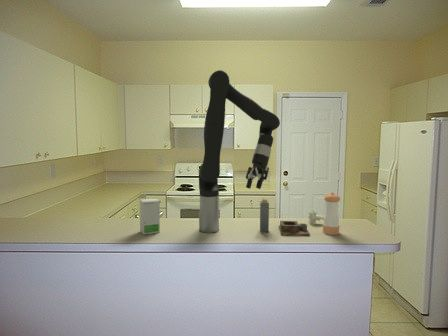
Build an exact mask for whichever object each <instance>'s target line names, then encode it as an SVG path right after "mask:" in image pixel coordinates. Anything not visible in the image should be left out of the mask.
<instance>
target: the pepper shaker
mask: <svg viewBox="0 0 448 336" xmlns="http://www.w3.org/2000/svg"><path fill="white" fill-rule="evenodd" d="M324 201H325V212H324V215H323V216H324V220H323V224H322V233H323V234H326V235H329V236H335V235H339V234H340V225H339V222H340V220H339V219H340V217H339V202H340V201H341V197H340V195H338V194H335V193H334V192H330V193H328V194H326V195H325V196H324Z"/></svg>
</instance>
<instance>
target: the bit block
mask: <svg viewBox="0 0 448 336" xmlns="http://www.w3.org/2000/svg"><path fill="white" fill-rule="evenodd" d="M279 222H280V224H279V225H278V230H279V233H280V236H292V235H296V236H301V237H310V236H311V235H310V232H309V230H308V224H307V223H298V221H297V220H280V221H279ZM296 236H295V237H296Z"/></svg>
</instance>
